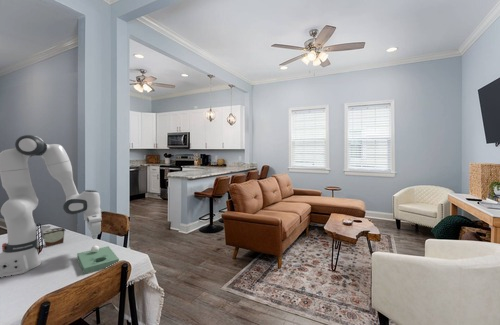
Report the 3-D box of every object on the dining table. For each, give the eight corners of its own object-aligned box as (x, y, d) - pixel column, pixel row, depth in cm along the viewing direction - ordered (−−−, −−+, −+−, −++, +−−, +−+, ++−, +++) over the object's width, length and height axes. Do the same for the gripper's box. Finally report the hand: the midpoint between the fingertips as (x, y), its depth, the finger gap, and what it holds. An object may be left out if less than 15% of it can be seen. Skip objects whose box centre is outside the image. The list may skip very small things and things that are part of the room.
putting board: (84, 274, 121) (84, 268, 121) (77, 258, 138) (77, 253, 138) (118, 264, 132) (118, 259, 132) (108, 250, 149) (108, 246, 149)
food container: (62, 240, 166) (62, 226, 166) (65, 242, 163) (65, 228, 162) (40, 246, 156) (39, 231, 156) (42, 248, 153) (42, 233, 152)
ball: (91, 254, 137) (91, 247, 137) (90, 252, 140) (90, 245, 140) (99, 252, 140) (99, 245, 140) (98, 250, 143) (98, 243, 143)
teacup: (47, 240, 166) (47, 229, 165) (24, 243, 161) (24, 231, 160) (54, 233, 179) (54, 223, 179) (33, 236, 174) (33, 225, 174)
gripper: (83, 214, 150) (85, 235, 151) (89, 220, 135) (91, 244, 136) (95, 212, 155) (96, 232, 156) (102, 218, 140) (103, 241, 141)
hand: (94, 238), depth 146 cm, fingers closed
